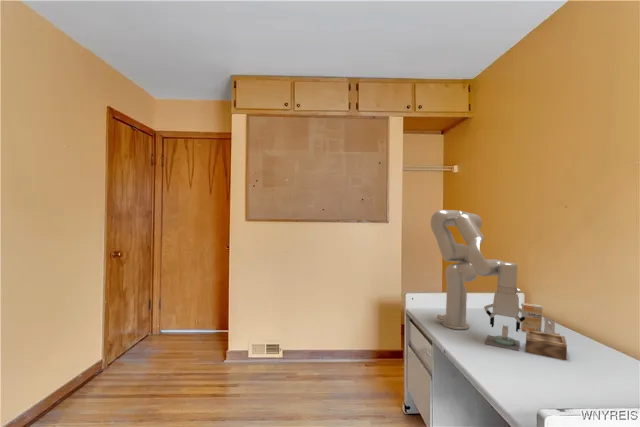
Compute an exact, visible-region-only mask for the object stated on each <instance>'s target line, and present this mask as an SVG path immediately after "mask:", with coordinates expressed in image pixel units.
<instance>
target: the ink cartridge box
mask: <svg viewBox="0 0 640 427" xmlns="http://www.w3.org/2000/svg"><path fill="white" fill-rule="evenodd" d="M543 322H544V327H543V328H544V329H543V333H547V334H553V335H559V336H561V334H560V332H558V331H557V330H556V328H555V327H556V326H555V325H556V324H555V323H556V322H554V321H552V320H551V319H550V318H548V317H546V316H545V315H544V316H543Z"/></svg>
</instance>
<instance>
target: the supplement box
mask: <svg viewBox="0 0 640 427" xmlns="http://www.w3.org/2000/svg"><path fill="white" fill-rule="evenodd" d="M521 309H522V310H524V311H525V312H527V313H528V316H527V317H526V318H525V320H523V321H522V322H521V323H520V329H521V331H523V332H526V330H530V331H536V332H542V324H543V323H542V320H543V306H542V305H540V304H533V303H527V302H522V304H521ZM523 315H524V314H522V313H521V317H522V316H523Z"/></svg>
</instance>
